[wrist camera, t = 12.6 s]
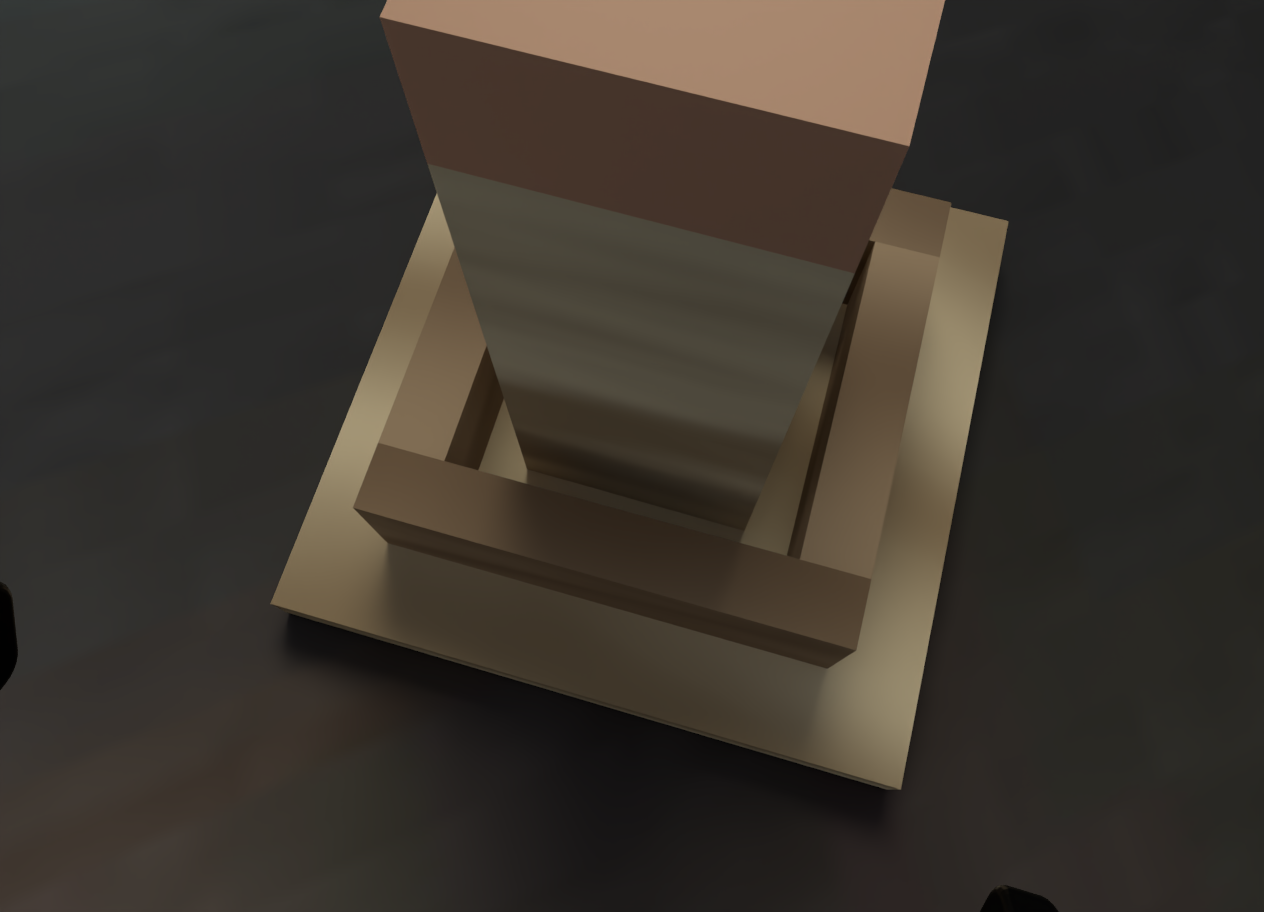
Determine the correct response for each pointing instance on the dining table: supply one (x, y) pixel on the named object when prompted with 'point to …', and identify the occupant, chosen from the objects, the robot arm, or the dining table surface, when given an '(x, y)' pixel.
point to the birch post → (660, 213)
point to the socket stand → (673, 519)
